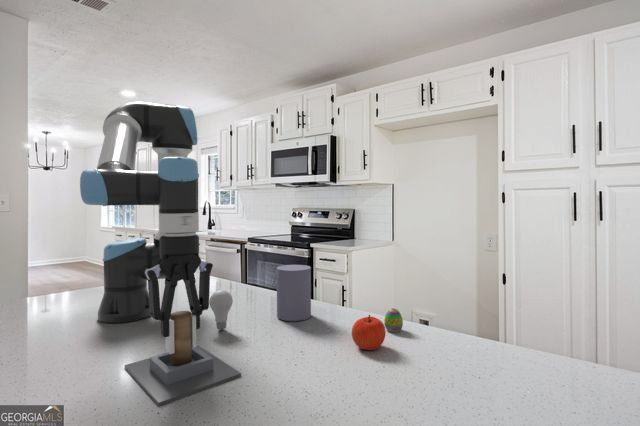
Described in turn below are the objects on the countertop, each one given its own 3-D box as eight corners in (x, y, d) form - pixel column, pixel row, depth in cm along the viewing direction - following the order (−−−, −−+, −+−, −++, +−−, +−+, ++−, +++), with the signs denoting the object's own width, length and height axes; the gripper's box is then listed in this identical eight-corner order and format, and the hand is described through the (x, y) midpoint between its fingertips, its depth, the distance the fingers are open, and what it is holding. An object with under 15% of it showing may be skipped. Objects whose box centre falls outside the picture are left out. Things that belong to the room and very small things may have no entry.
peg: (167, 362, 76) (166, 313, 76) (186, 356, 79) (186, 309, 79) (175, 368, 73) (174, 317, 73) (195, 362, 76) (194, 313, 76)
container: (270, 319, 110) (270, 269, 110) (286, 310, 120) (286, 263, 119) (302, 323, 106) (302, 271, 106) (316, 313, 116) (316, 265, 115)
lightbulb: (226, 335, 97) (226, 293, 97) (205, 333, 98) (205, 292, 98) (236, 327, 103) (236, 288, 103) (216, 325, 104) (216, 287, 104)
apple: (388, 343, 91) (388, 311, 91) (382, 356, 84) (382, 321, 83) (356, 339, 94) (356, 308, 94) (348, 351, 86) (348, 317, 86)
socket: (124, 367, 78) (124, 354, 78) (197, 347, 89) (197, 335, 89) (158, 406, 63) (158, 389, 63) (241, 376, 74) (241, 361, 74)
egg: (406, 330, 101) (406, 308, 100) (396, 335, 97) (396, 312, 97) (390, 326, 104) (390, 305, 104) (380, 330, 100) (380, 308, 100)
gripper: (141, 238, 67) (143, 366, 67) (226, 233, 78) (227, 342, 79) (128, 235, 72) (131, 354, 73) (209, 231, 84) (211, 334, 84)
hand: (181, 348), depth 76 cm, fingers closed on peg, 4 cm apart
